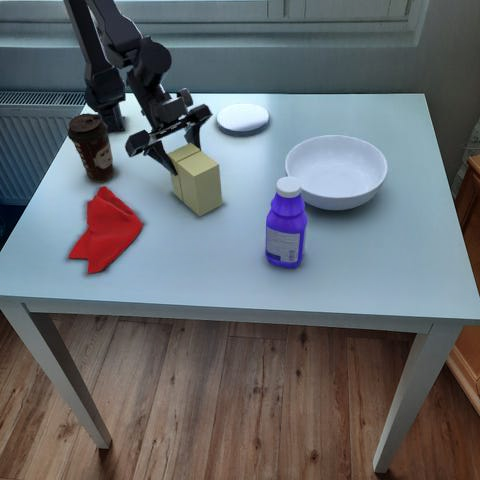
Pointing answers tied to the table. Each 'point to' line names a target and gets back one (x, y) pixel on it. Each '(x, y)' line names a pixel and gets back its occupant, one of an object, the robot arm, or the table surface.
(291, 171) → the serving bowl
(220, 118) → the saucer
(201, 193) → the butter block
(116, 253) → the cloth
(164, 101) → the robot arm
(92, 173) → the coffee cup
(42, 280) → the table surface
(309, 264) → the table surface
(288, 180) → the bottle
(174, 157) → the butter slice
